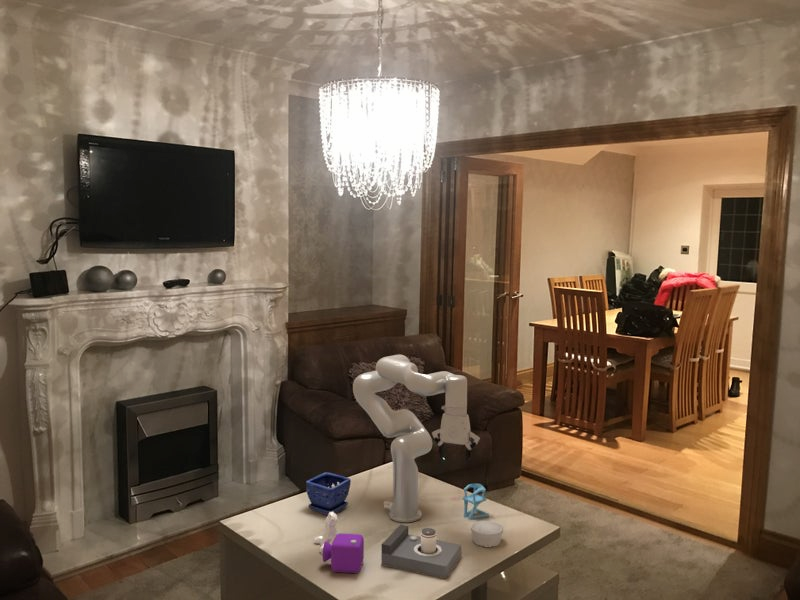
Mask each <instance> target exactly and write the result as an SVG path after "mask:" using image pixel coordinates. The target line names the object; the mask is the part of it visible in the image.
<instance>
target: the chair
mask: <svg viewBox="0 0 800 600" xmlns="http://www.w3.org/2000/svg"><path fill="white" fill-rule="evenodd" d="M470 488H473V492H472V493H471V494H469V495H468V493H467V490H468V489H470ZM486 490H487V489H486V488H485V486H484V485H482V484H481V483H470V484H468V485H466V487H464V488H463V492H464V496H462V500H463V503H464V504H463V506H464V507H463V518H467V517H468V520H469V519H470V520H475V519H483V518H487V517H489V515H490V514H489V513H488V512H486V511H483V510H481V509H479V508H478V506H479V505H480V504H482V503H483V502H486V501H487V497H485V493H486ZM481 492H482V494H481V495H479V493H481ZM469 503H470V504H471V505H473V507H472V508H471V509H469V511H468V506H469V505H468V504H469ZM475 512H478V513H479V514H474V513H475Z"/></svg>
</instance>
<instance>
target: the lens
mask: <svg viewBox="0 0 800 600" xmlns="http://www.w3.org/2000/svg"><path fill="white" fill-rule="evenodd" d="M420 537H421V553H423V554H433V553H436V540H437V531H436V529H434V528H431V527H426V528H425V527H424V528H422V529H421V531H420Z"/></svg>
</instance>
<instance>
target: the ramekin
mask: <svg viewBox="0 0 800 600" xmlns="http://www.w3.org/2000/svg"><path fill="white" fill-rule="evenodd" d="M470 530H471V531H470V532H471V535H472V540H473V542H474V543H475V544H476V545H478V546H479V545H480V546H479V547H483V546H485V548H491V547H490V546H494V547H496V545H497V546H498V545H500V543H501V541H502V537H503V534H504V533H503V532H504V527H503V525H501V524H500V523H498V522H496V521H491V520H479V521H475V522H473V523H472V524H471V525H470ZM486 546H487V547H486Z"/></svg>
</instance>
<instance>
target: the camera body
mask: <svg viewBox="0 0 800 600" xmlns="http://www.w3.org/2000/svg"><path fill="white" fill-rule="evenodd" d="M380 555H381V558H380V559H381V564H380V565H381V566H385V567H389V568H394V569H399V570H404V571H409V572H414V573H417V574H423V575H427V576H430V577H431V576H432V577H436V578H441V579H445V580H446V579H447V578H448V577H449V575H450V573H451V572H452V570H453V569H454V568H455V566H456V564H457V563H458V561H459V560H460V558H461V557H462V544H460V543H457V542H456V543H455V542H450V541H444V540H440V539H436V553H433V554H423V553H421V535H413V534H409V525H406V524H399V525H398V526H397V527H396V528H395V529H394V530H393V532H392V533H391V534H390V535H389V536H387V538H386V539H385V540H383V542H382V543H381V554H380Z"/></svg>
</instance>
